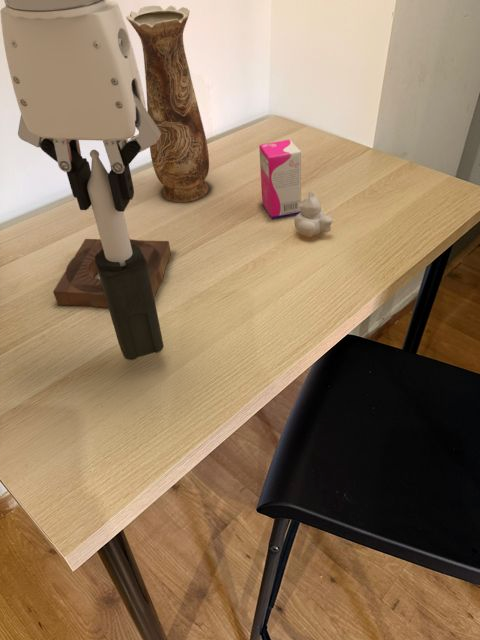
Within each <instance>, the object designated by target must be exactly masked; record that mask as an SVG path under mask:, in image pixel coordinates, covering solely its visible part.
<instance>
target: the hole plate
mask: <svg viewBox="0 0 480 640" xmlns="http://www.w3.org/2000/svg"><path fill="white" fill-rule="evenodd" d="M129 239H130V243H131V244H134V245H137V246H138V247H139V248H140V249H141V251H142V253H143V255H144V257H145V259H146V262H147V266H148V271H149V276H150V281H151V286H152V291H153V296H154V297H156V294H157V292H158V291H157V290H158V289H159V286H160V285H161V284H162V282H163V281H164V280H163V279H164V276H165V271H166V268H167V265H168V263H169V260H170V258H171V255H172V252H171V245H170V240H145V239H144V240H143V239H142V240H139V239H131V238H129ZM102 249H103V246H102V242H101V239H100V238H85V239H84V240H83V242H82V243H81V245H80V246H79V248H78V250H77V251H76V253H75V255H74V256H73V258H72V259H71V260H70V261H69V262H68V264H67V266H66V268H65V271H64V273H63V275H62V276H61V278H60V280H59V281H58V283H57V284H56V286H55V288H54V289H53V291H52V293H53V295H54V299H55V300H56V304H57V305H58V306H79V307H93V308H102V309H109V308H108V305H107V301H106V298H105V294H104V291H103V287H102V284H101V280H100V278H97V277H96V276H97V274H99V273H98V270H97V266H96V263H95V256H96V254H98V253H99V252H100V251H101V250H102Z"/></svg>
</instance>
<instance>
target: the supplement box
mask: <svg viewBox="0 0 480 640" xmlns="http://www.w3.org/2000/svg"><path fill="white" fill-rule="evenodd" d="M258 146H259V164H260V165H259V166H260V181H261V182H260V184H261V187H260V188H261V204H262V207H263V208H264V210H265V212H266V213H267V215H268V216H269V218H270V220H272V221H273V220H277V219H282V218H287V217H293V216H297V215H298V214H299V213H300V212H301V211H300V209H301V208H300V207H299V205H300V204H301V203H302V151H301V150H300V148H298V147H297V146H296V145H295V143H293V141H292V140H291V139H284V140H281V141H274V142H268V143H262V144H259V145H258Z"/></svg>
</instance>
